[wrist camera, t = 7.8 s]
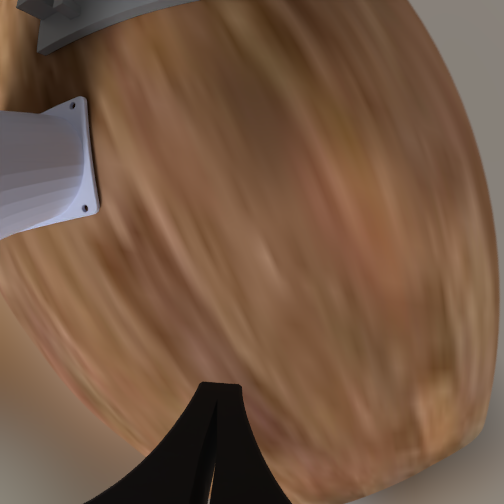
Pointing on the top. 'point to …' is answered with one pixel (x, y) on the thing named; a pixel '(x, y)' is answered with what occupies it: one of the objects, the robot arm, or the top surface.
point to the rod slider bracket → (83, 17)
